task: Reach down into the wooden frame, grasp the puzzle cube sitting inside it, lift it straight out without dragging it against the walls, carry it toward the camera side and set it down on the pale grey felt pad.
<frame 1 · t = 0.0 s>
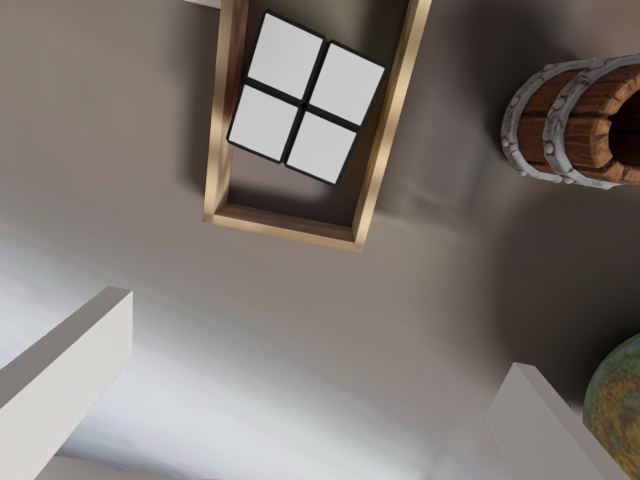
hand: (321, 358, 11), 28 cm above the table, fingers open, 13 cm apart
decorative globe: (639, 362, 46), on the table
wooden frame: (309, 108, 34), on the table
puzzle cube: (309, 108, 35), resting in wooden frame
mug: (563, 124, 35), on the table
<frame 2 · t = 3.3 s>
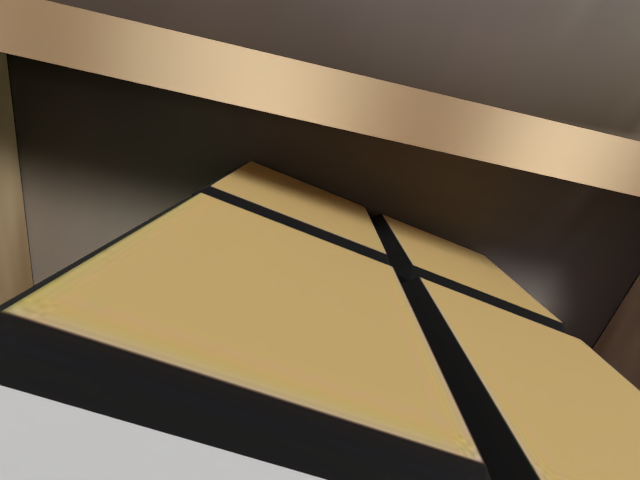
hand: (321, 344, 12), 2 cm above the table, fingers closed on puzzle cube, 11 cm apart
wooden frame: (321, 313, 14), on the table
puzzle cube: (322, 310, 14), resting in wooden frame, touching gripper
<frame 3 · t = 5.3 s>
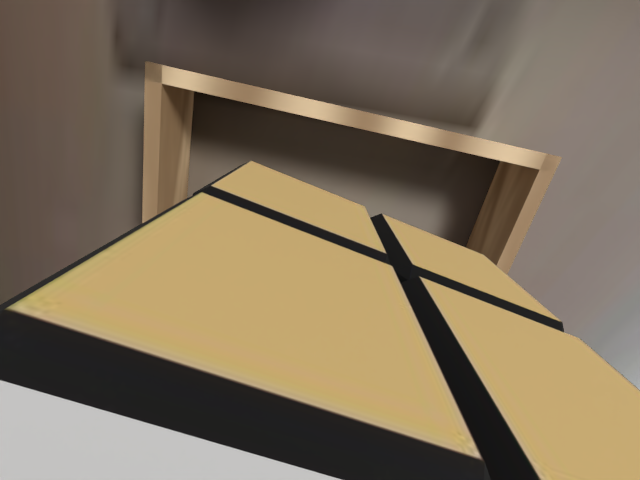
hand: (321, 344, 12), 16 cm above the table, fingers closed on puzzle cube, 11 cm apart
wooden frame: (329, 218, 27), on the table
puzzle cube: (322, 310, 14), point 14 cm above the table, touching gripper
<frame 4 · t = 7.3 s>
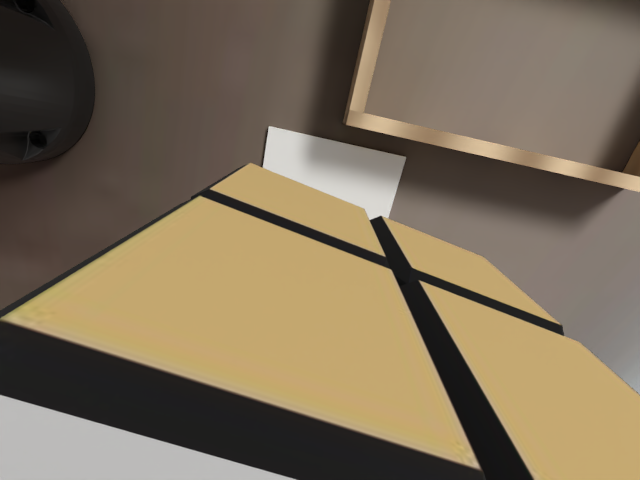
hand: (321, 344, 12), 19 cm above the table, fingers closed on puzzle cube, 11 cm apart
wooden frame: (530, 47, 25), on the table
puzzle cube: (321, 312, 14), point 17 cm above the table, touching gripper
pad: (323, 207, 30), on the table
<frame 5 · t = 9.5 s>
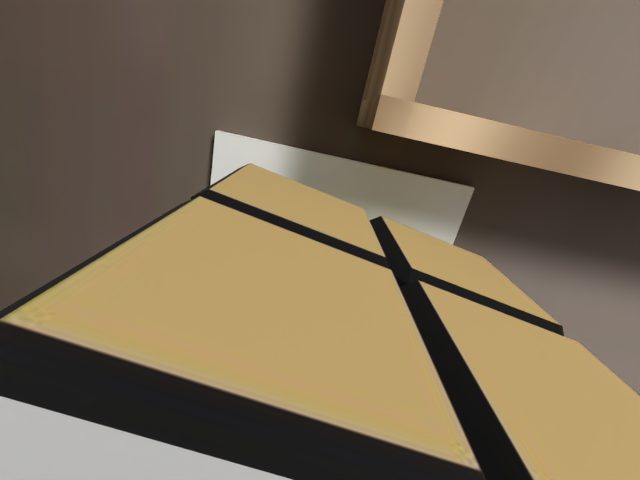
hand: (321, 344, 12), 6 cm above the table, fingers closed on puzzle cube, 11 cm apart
puzzle cube: (321, 312, 14), point 3 cm above the table, touching gripper
pad: (320, 272, 17), on the table
when the fingers open (3 cm above the table, at t = 11.2 s): puzzle cube stays where it is, resting on pad.
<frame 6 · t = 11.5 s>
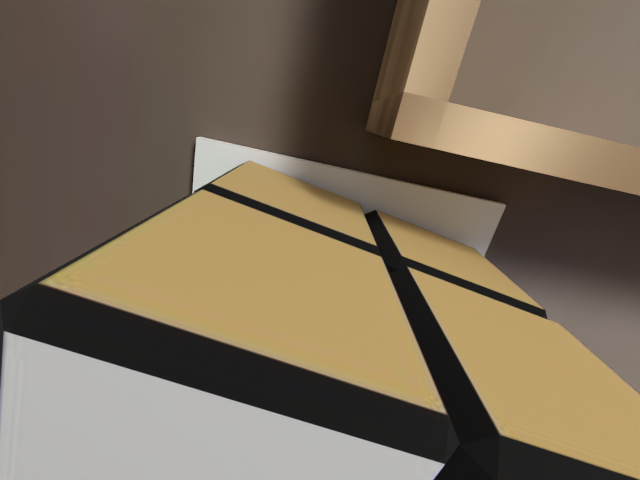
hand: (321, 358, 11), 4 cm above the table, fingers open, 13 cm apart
puzzle cube: (319, 304, 14), resting on pad
pad: (322, 301, 15), on the table
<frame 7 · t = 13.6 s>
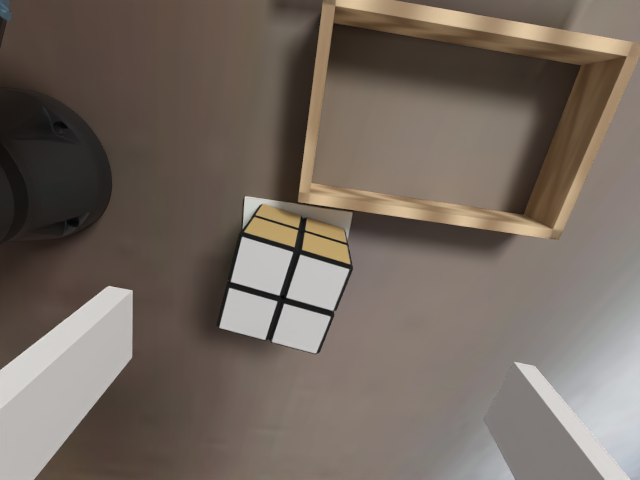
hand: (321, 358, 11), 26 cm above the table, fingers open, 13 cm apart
wooden frame: (437, 128, 33), on the table
puzzle cube: (292, 253, 38), resting on pad
pad: (293, 252, 38), on the table
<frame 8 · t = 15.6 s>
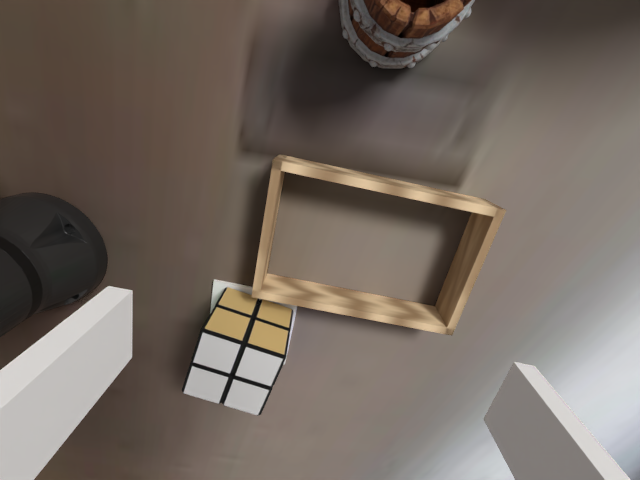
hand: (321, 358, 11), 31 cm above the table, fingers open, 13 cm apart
wooden frame: (366, 240, 42), on the table
puzzle cube: (250, 324, 47), resting on pad
pad: (251, 323, 47), on the table
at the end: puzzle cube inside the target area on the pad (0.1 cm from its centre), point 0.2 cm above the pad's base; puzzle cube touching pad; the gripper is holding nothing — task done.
